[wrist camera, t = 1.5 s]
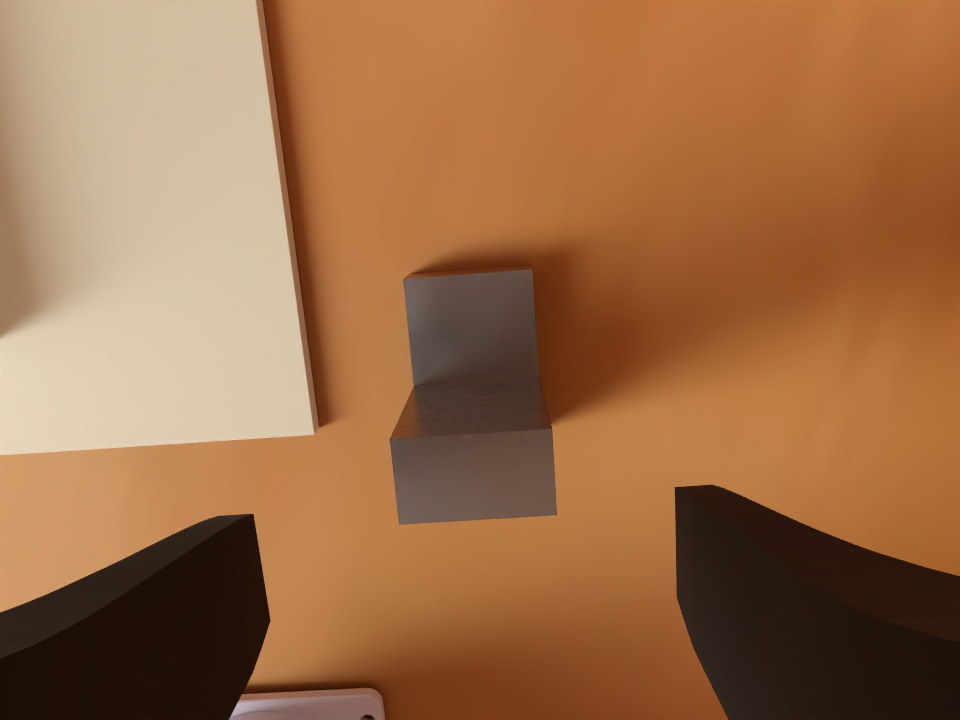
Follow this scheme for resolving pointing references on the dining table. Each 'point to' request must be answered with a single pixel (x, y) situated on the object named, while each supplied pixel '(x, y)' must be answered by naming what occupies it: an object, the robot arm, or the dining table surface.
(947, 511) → the dining table surface
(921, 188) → the dining table surface
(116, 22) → the well board
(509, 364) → the bracket
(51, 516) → the dining table surface
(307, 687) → the dining table surface
